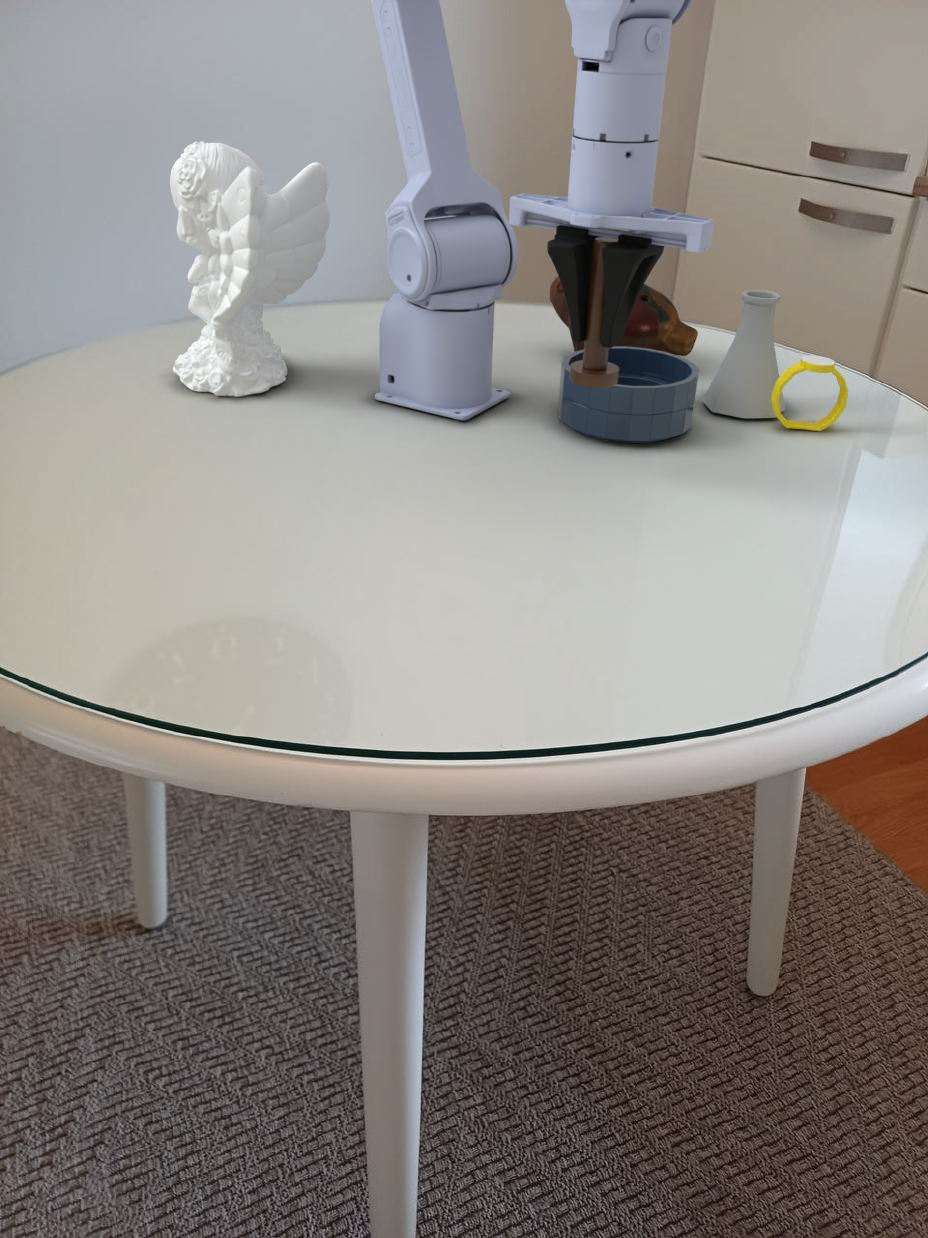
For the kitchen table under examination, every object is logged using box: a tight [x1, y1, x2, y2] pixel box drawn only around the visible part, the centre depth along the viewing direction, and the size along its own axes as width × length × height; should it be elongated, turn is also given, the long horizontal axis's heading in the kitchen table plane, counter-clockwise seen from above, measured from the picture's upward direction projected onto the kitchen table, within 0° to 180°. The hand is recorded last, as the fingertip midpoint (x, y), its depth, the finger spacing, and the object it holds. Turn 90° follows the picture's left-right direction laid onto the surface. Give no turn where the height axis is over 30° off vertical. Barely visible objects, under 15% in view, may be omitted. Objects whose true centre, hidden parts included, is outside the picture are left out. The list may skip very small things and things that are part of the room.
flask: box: [701, 289, 786, 419], centre depth 94 cm, size 7×7×10 cm
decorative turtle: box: [549, 275, 699, 357], centre depth 106 cm, size 10×15×8 cm, turn 70°
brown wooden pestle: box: [569, 237, 619, 388], centre depth 78 cm, size 4×4×10 cm
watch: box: [771, 354, 849, 432], centre depth 91 cm, size 6×3×6 cm, turn 89°
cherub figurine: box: [169, 140, 331, 398], centre depth 96 cm, size 13×12×20 cm
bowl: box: [557, 346, 700, 444], centre depth 91 cm, size 11×11×5 cm
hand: (596, 341), depth 79 cm, fingers closed on brown wooden pestle, 2 cm apart
